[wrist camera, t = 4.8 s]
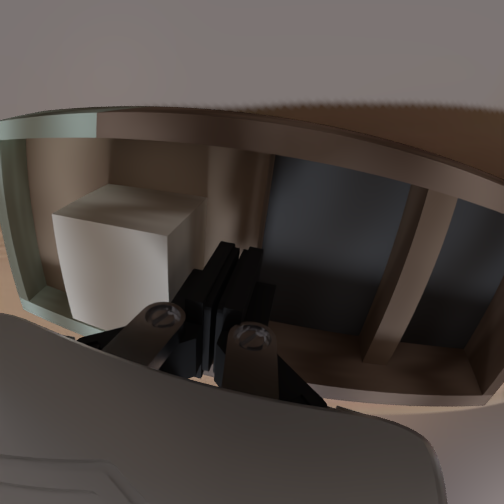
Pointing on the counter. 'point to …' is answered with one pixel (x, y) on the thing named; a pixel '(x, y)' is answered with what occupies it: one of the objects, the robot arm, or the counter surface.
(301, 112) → the counter surface
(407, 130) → the counter surface
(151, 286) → the block
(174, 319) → the robot arm
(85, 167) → the box
